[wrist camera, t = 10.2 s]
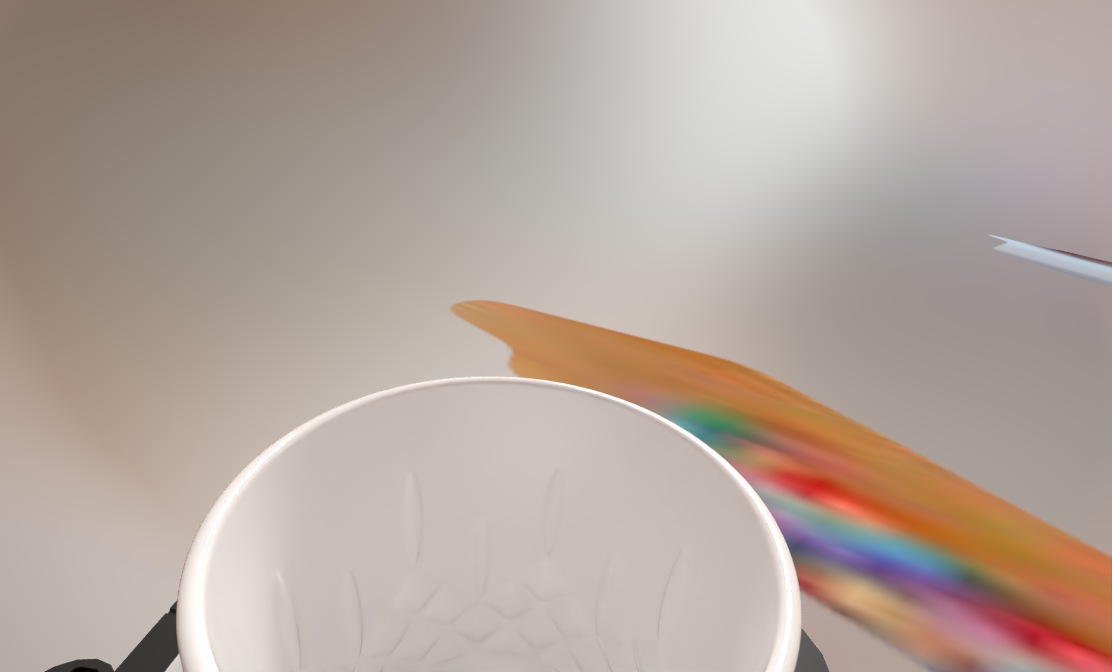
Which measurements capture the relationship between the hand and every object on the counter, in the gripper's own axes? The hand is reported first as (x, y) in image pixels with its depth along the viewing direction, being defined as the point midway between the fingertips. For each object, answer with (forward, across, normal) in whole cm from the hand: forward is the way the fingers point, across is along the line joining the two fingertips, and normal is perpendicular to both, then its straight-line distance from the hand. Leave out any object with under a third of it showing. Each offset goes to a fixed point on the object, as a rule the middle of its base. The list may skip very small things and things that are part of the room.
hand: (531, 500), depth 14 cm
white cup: (-5, 0, -6) cm, 8 cm away
